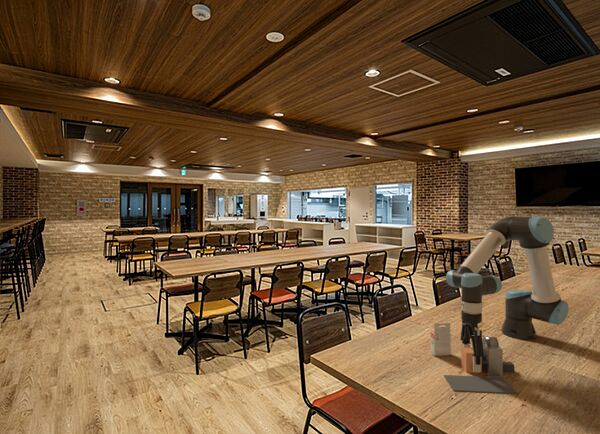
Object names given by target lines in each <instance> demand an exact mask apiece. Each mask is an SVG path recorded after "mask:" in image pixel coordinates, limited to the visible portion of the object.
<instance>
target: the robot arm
mask: <svg viewBox="0 0 600 434" xmlns="http://www.w3.org/2000/svg"><path fill="white" fill-rule="evenodd" d="M554 234H555V230H554V226H553V224H552V222H551V221H550V219H547V218H546V217H543V216H535V215H534V216H506V217H503V218H502V219H500V220H498V221H496V222H495V223H494V224H492V225H491V226H490V227H488V229H487V230H486V231H485V234H484V235H485V236H484V237H483V238H482V239H481V241H480V242H479V243H478V244H477V245H476V247H475V248H474V249H473V250H472V251H471V253H469V255H468V256H467V257H466V258H465V260H464V261H463V262H462V263H461V264H460V265H459V267H458V268H457V269H456V270H455V269H451V270H449V271H447V273H446V276H445V282H446V283H447V285H448V286H451V287H453V288H456V289H461V297H460V298H461V299H460V300H461V302H460V304H459V305H460V306H461V315H460V317H461V332H460V341H461V343H462V348H471V345H472V348H473V351H474V354H473V355H472V356H473V372H481V357H484V352H483V343H482V338H483V331H482V330H481V329H479V325H478V324H481V323H482V322H483V314H482V312H483V296H487V295H495V294H497V293H499V292H500V291H501V290H502V288H503V284H502V281H501V279H500V278H499V277H498V276H496V275H493V274H492V275H491V274H490V275H489V274H488V275H482V274H479V272H480V271H481V270H482V269H483V267H484V266H485V265H486V263H487V262H488V261H489V260H490V259H491V257H492V256H493V255H494V253H495V252H496V251H497V249H498V248H499V247H500V246H504V245H505V243H506V242H508V241H518V242H519V247H520V248H521V249H523V250H524V254H525V259H526V262H527V268H528V272H529V277H530V281H531V287H532V290H528V289H509V290H506V292H505V297H504V299H505V300H504V301H505V318H504V320H503V324H502V326H501V333H502V334H504V335H505V336H507V337H511V338H513V339H519V340H535V339H536V338H537V332H536V329H535V326H534V323H533V320H536V321H540V322H546V323H548V324H553V325H558V326H559V325H562V324H563V323H564V322H565V321H566V319H567V317H568V315H569V311H570V309H569V304H568V302H567V301H565V300H562V299H561V298H562V297H561V294H560V293H558V292H557V291H556V287H555V282H554V277H553V272H552V266H551V263H550V259H549V258H550V257H549V252H548V247H549V246H550V245H551V244H550V243H551V242H552V241H553V240H554V237H555V235H554Z"/></svg>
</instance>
